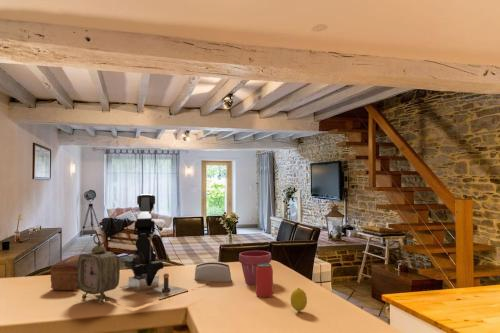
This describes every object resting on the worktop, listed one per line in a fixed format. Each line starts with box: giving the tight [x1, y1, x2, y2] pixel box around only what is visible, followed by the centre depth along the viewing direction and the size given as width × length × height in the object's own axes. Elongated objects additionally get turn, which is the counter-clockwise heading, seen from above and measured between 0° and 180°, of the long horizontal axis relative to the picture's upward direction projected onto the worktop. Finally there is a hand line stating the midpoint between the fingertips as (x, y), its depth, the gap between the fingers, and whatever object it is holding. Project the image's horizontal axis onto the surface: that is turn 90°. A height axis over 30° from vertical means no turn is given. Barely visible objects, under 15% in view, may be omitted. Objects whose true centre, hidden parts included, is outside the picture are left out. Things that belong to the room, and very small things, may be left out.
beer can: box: [255, 263, 274, 299], centre depth 146 cm, size 7×7×12 cm
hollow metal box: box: [128, 273, 160, 290], centre depth 158 cm, size 7×10×4 cm
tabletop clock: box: [78, 233, 121, 305], centre depth 143 cm, size 14×9×25 cm, turn 56°
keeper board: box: [119, 272, 189, 301], centre depth 154 cm, size 26×14×8 cm, turn 54°
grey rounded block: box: [194, 261, 232, 283], centre depth 169 cm, size 17×5×10 cm, turn 90°
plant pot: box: [238, 250, 272, 286], centre depth 167 cm, size 14×14×13 cm
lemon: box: [290, 287, 308, 313], centre depth 127 cm, size 6×6×8 cm
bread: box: [50, 253, 82, 291], centre depth 167 cm, size 14×28×12 cm, turn 176°
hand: (143, 284), depth 158 cm, fingers closed on hollow metal box, 7 cm apart
